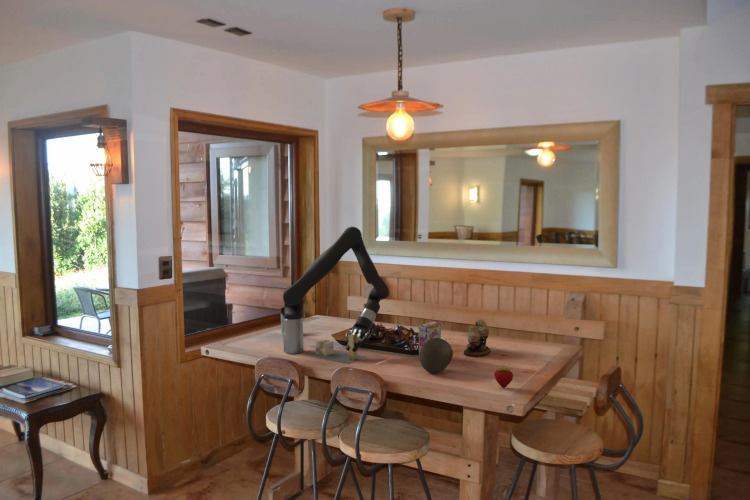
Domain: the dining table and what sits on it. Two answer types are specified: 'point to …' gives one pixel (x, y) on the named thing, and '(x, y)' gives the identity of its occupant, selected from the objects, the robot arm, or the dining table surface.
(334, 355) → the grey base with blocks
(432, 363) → the coconut
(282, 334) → the glass holder
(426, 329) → the candy bar box
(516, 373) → the dining table surface
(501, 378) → the strawberry
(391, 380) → the dining table surface
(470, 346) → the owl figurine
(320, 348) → the cube
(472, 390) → the dining table surface
